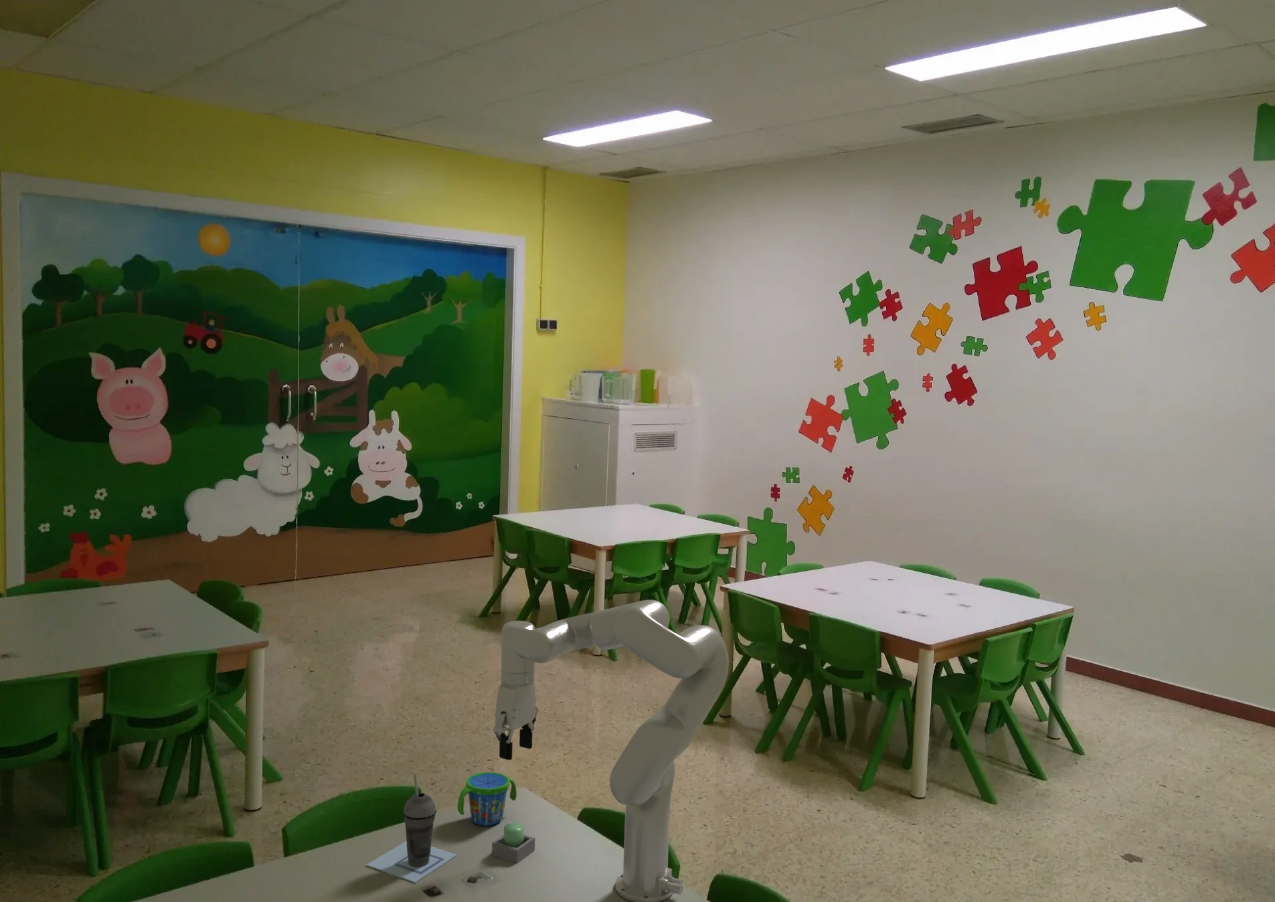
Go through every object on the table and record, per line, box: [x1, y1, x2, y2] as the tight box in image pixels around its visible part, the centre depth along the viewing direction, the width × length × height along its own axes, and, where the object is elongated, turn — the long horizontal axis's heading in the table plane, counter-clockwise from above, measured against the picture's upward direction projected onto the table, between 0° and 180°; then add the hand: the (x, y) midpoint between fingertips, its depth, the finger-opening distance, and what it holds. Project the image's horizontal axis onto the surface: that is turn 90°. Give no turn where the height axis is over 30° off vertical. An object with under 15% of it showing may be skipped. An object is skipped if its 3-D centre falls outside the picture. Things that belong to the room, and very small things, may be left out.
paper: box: [365, 840, 458, 884], centre depth 220 cm, size 14×14×1 cm
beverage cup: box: [402, 774, 437, 867], centre depth 218 cm, size 7×7×20 cm
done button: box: [503, 822, 525, 848], centre depth 225 cm, size 5×5×4 cm
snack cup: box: [456, 771, 518, 827], centre depth 240 cm, size 16×10×10 cm
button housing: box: [491, 834, 536, 864], centre depth 225 cm, size 7×7×3 cm
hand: (515, 752), depth 223 cm, fingers open, 7 cm apart
